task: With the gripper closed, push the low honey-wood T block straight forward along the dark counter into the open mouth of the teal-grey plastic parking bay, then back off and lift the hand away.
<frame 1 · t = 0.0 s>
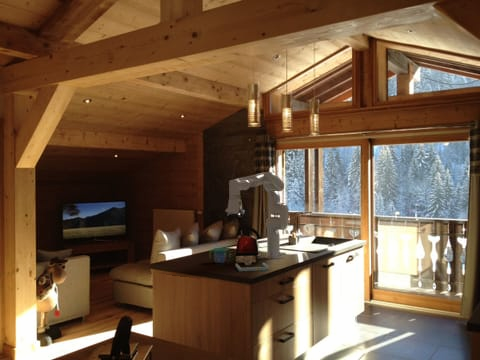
hand: (234, 221, 325), 31 cm above the worktop, tool pointing down, fingers open, 9 cm apart
snack cup: (220, 262, 341), on the worktop
T block: (247, 263, 338), on the worktop
parking bay: (251, 268, 319), on the worktop
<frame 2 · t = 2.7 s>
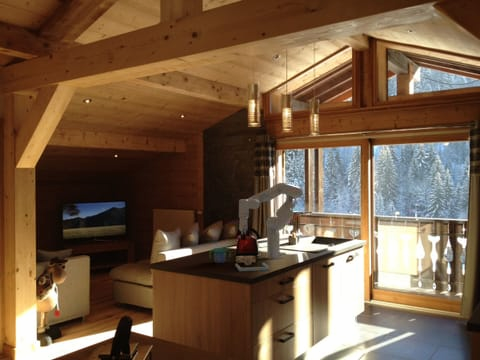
hand: (243, 239, 349), 15 cm above the worktop, tool pointing down, fingers closed
nothing on the worktop moved.
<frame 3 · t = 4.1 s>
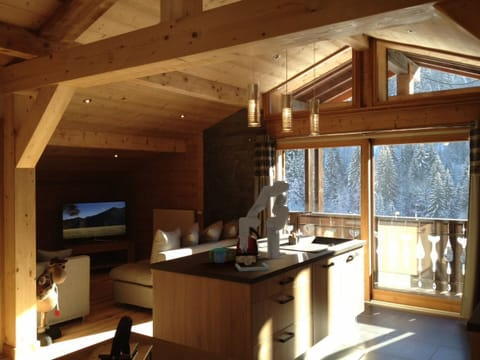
hand: (244, 258, 349), 1 cm above the worktop, tool pointing down, fingers closed
nothing on the worktop moved.
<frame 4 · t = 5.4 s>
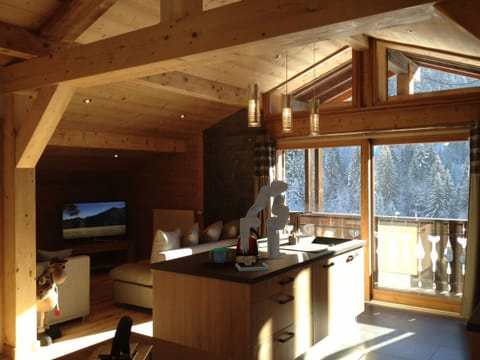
hand: (244, 259, 346), 1 cm above the worktop, tool pointing down, fingers closed
T block: (247, 263, 337), on the worktop, touching gripper
everything else where it was.
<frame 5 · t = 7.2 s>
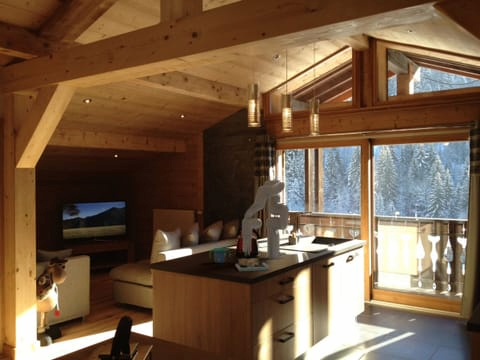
hand: (247, 261, 335), 1 cm above the worktop, tool pointing down, fingers closed
T block: (249, 265, 326), on the worktop, touching gripper
everything else where it was.
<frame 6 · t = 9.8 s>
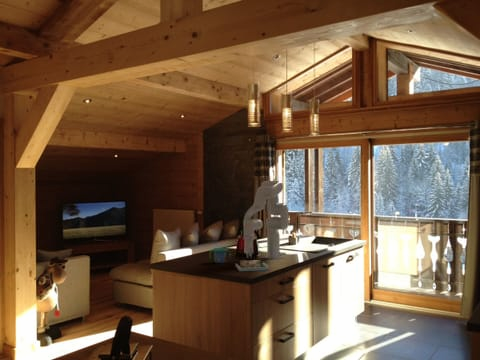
hand: (249, 263, 329), 1 cm above the worktop, tool pointing down, fingers closed
T block: (251, 267, 320), on the worktop
everything else where it was.
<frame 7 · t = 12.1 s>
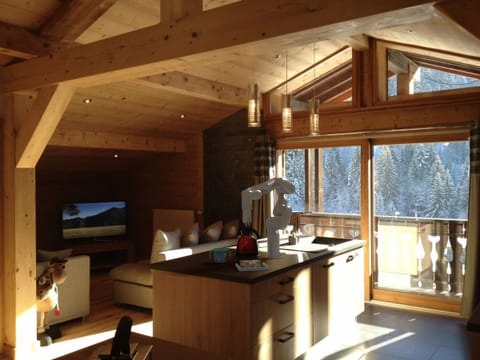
hand: (247, 232, 338), 22 cm above the worktop, tool pointing down, fingers closed
nothing on the worktop moved.
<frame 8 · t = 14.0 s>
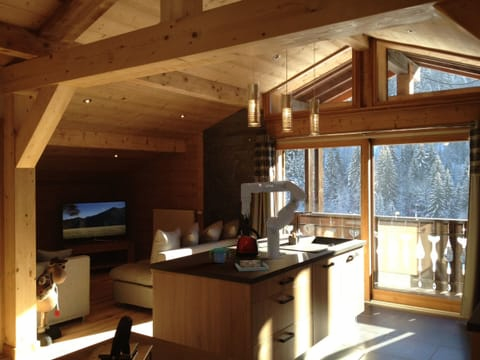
hand: (246, 223, 352), 27 cm above the worktop, tool pointing down, fingers closed
nothing on the worktop moved.
at the end: T block inside the target area (0.4 cm from its centre), on the worktop; T block tilted 0°; T block moved 18.1 cm from its start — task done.
